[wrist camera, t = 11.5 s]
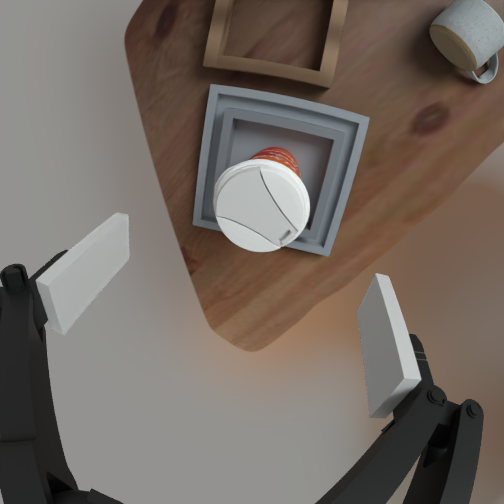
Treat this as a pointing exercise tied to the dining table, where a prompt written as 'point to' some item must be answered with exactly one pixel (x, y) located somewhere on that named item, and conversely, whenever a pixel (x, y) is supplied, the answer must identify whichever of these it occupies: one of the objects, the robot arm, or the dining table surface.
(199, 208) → the grey tray
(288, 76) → the walnut collar
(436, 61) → the dining table surface
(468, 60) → the ceramic mug
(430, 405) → the robot arm
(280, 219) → the paper cup
